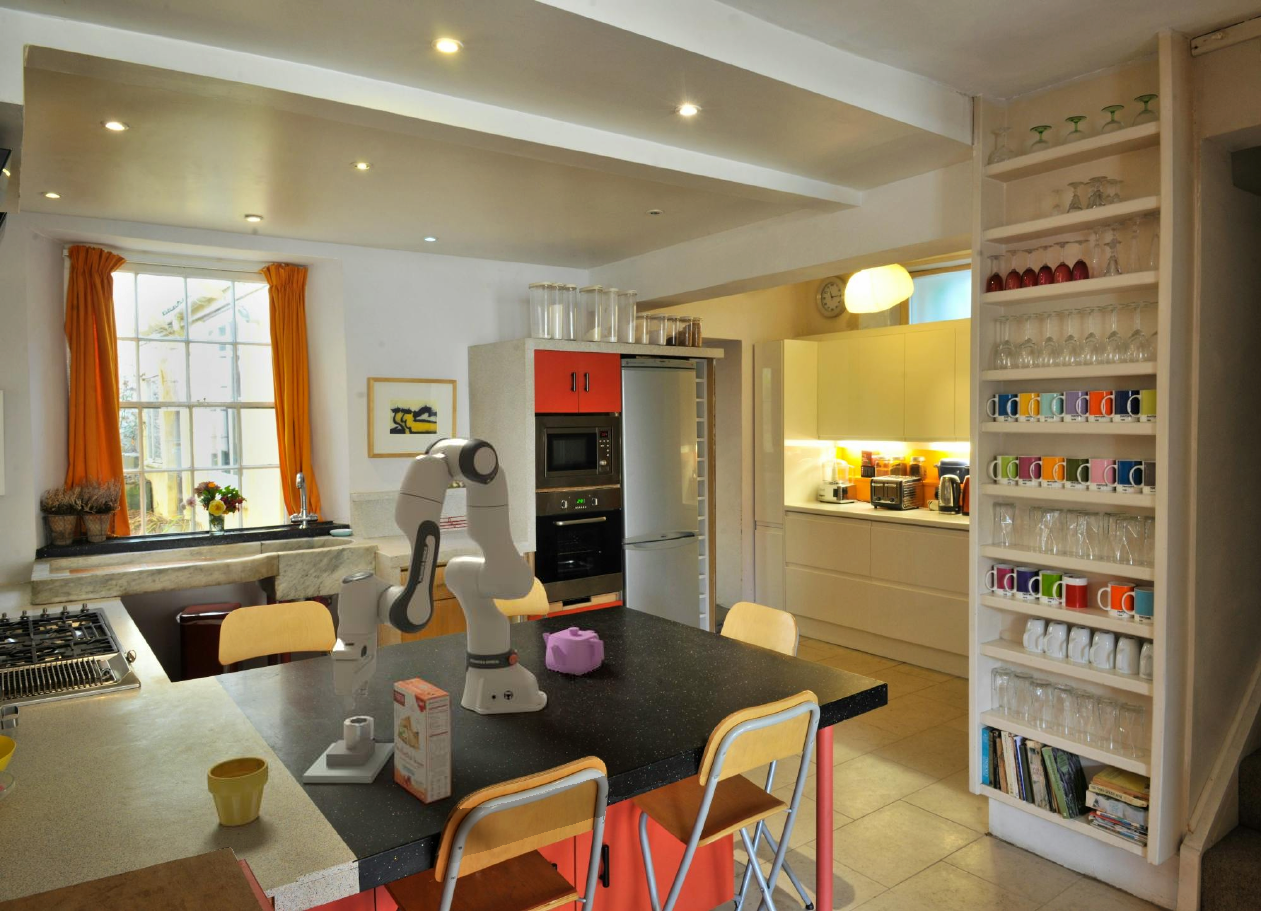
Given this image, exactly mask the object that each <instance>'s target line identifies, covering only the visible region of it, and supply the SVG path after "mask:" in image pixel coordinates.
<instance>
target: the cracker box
mask: <svg viewBox="0 0 1261 911" xmlns="http://www.w3.org/2000/svg"><path fill="white" fill-rule="evenodd" d="M451 698H452V696H451V693H449V692H446V691H444V690H442V689H440V688H439V687H437V686H435V685H433V684H431V683H429V682H428V681H427V682H426V681H425V680H423V679H421V678H419V677H416V678H415V677H414V678H412V679H405V680H400V681H396V682H394V683H393V727H394V730H393V731H394V732H393V738H394V739H393V741H394V742H393V743H394V752H393V754H394V761H393V762H394V782H396V783H397V784H399V785H400V786H401V787H403V789H405V790H407V791H408V792H409V793H411V794H412V795H413V796H414V797H417V798H418V799H419V800H421V802H422V803H424V804H431V803H433V802H436V801H440V800H442V799H443V800H444V799H446V798H449V797H451V796H452V752H451V751H452V746H451V745H452V743H451V742H452V741H451V740H452V739H451V738H452V730H451V729H452V728H451V727H452V724H451V722H452V721H451V720H452V719H451V718H452V716H451V715H452V712H451V711H452V710H451V708H452V706H451V703H452V702H451V701H452V699H451Z"/></svg>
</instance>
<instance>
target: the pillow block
mask: <svg viewBox="0 0 1261 911" xmlns="http://www.w3.org/2000/svg"><path fill="white" fill-rule="evenodd" d="M393 754H394V742H376V740H375V739H374V740H373V739H372V740H357V737H356V725H348V726H346V740H344V739H339V740H337V742H332V743H331V744H330V745H329V746H328V747H327V749H326V750H325V751H324V752H323V753H322V754H321V756H320V757H318V759H317V760H316V761H315V762H314V763H313V764H312V765H311V766H310V767H309V768H308V769H307V771H306V772H305V773H304V774H303V775H302V783H305V784H307V783H309V784H315V783H316V784H317V783H319V784H333V783H334V784H372V783H373V781H374V780H375V778H376V777H377V776H378V774H379V773H380V771H381V770H382V769H383V768H384V766H385V765H386V763H387V761H388V760H390V757H391V756H392V755H393Z"/></svg>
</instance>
